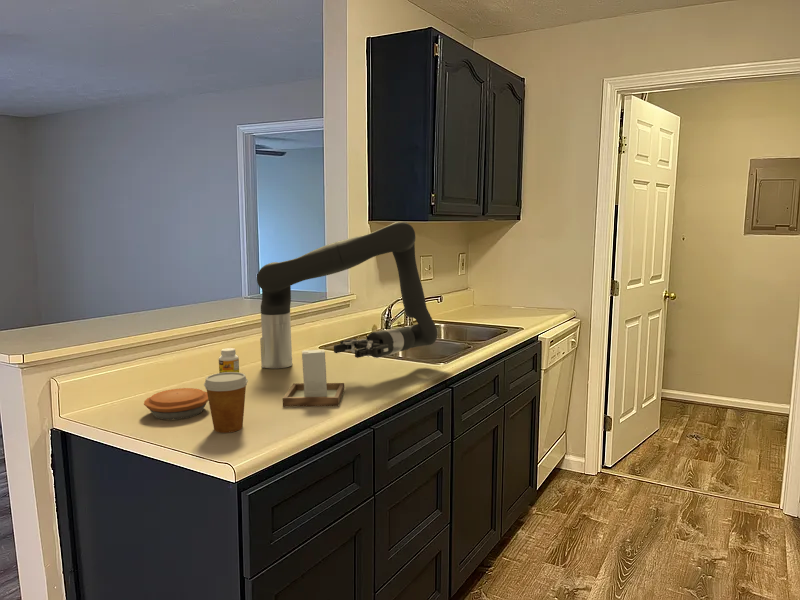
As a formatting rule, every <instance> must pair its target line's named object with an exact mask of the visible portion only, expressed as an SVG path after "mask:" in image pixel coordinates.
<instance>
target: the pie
mask: <svg viewBox="0 0 800 600" xmlns="http://www.w3.org/2000/svg"><path fill="white" fill-rule="evenodd" d="M143 402H144V403H143V405H144V406H145V407H146V408H147V409H148V410H149V412H151V413H152V415H153V417H155V418H156V419H159V420H164V419H165V420H166V419H169V420H170V421H171V420H172V419H175V420H182V419H187V418H192V417H194V416H197V415H199V414H201V413H202V412H203V410H204V408H205V407H206V405H207V403H209V400H208V395H207V391H203V390H202V389H199V388H194V387H193V388H192V387H183V388H181V387H180V388H173V389H167V390H162V391H159V392H156V393H154V394H152V395H150V396H149V397H147V398H146V399H145V400H144V401H143ZM172 421H173V420H172Z"/></svg>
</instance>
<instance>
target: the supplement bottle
mask: <svg viewBox="0 0 800 600" xmlns="http://www.w3.org/2000/svg"><path fill="white" fill-rule="evenodd" d="M236 353H237V351H236V348H234V347H233V348H232V347H227V348H222V349H221V350H220V354H221V355H220V356H219V357H218V370H219V371H218V373H224V372H239V373H240V358H239V356H238V355H237V354H236Z"/></svg>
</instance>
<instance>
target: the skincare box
mask: <svg viewBox="0 0 800 600" xmlns="http://www.w3.org/2000/svg"><path fill="white" fill-rule="evenodd" d="M301 360H302V375H303V377H302V378H303V383H304V397H327V383H328V381H327V365H326V352H325V349H324V348H323V349H305V350H301Z"/></svg>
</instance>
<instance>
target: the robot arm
mask: <svg viewBox="0 0 800 600" xmlns="http://www.w3.org/2000/svg"><path fill="white" fill-rule="evenodd" d="M415 242H416V231H415V229H414V228H413V226H412V225H411V224H410V223H408V222H405V221H396V222H393V223H391V224H389V225H386V226H384V227H382V228H379V229H377V230H375V231H373V232H370V233H367V234H363V235H359V236H353V237H350V238H344V239H343V240H339V241H335V242H333V243H329V244H325V245H323V246H321V247H319V248H318V247H317V248H315V249H314V250H311V251H309V252H308V253H305V254H302V255H301V256H298V257H296V258H293V259H287V260H285V261H284V260H283V261H279V262H277V261H275V262H272V261H271V262H270V263H266V264H265V265H263V266H262V267H261V268H260V269H259V271H258V272H257V275H256V282H257V285H258V287H259V288H260V289H261V303H260V320H261V321H260V323H261V337H260V339H259V340H260V361H261V362H260V363H261V368H266V369H285V368H289V367H291V366H292V365H293V347H292V322H291V301H292V289H291V288H292V286H293V285H296V284H298V283H301V282H304V281H307V280H311V279H316V278H322V277H325V276H329V275H333V274H337V273H340V272H343V271H346V270H349V269H352V268H354V267H356V266H359V265H361V264H363V263H364V262H367V261H369V260H370V259H373V258H375V257H378V256H381V255H384V254H388V253H392V255H393V258H394V261H395V264H396V267H397V272H398V279H399V287H400V294H401V301H402V304H403V305H402V306H403V310H404V315H406V317H407V318H413V319H415V321H416V322H417V324H412V325H408V326H403V327H397V328H391V329H383V330H382V329H381V330H378V331H377V330H376V331H373V332H370V333H369V334H368V335H367V337H366V338H361V339H357V338H350V339H346V340H340V343H339V344H335V345H334V346H333V353H334V354H338V353H345V352H351V353H352V354H354V357H355V358H357V359H359V358H363V357H373V358H374V359H375V358H376V359H377V358H379V359H380V358H383V357H386V356H387V357H388V356H391V355H394V354H397V353H400V352H405V351H407V350H410V349H413V348H418V347H427V346H431V345H433V344H435V343H436V341H437V338H438V329H437V326H436V324H435V322H434V320H433V318H432V316H431V314H430V312H429V309H428V308H427V302H426V298H425V293H424V289H423V285H422V280H421V278H420V275H419V271H418V267H417V260H416V251H415V250H416V246H415V245H416V243H415Z"/></svg>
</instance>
